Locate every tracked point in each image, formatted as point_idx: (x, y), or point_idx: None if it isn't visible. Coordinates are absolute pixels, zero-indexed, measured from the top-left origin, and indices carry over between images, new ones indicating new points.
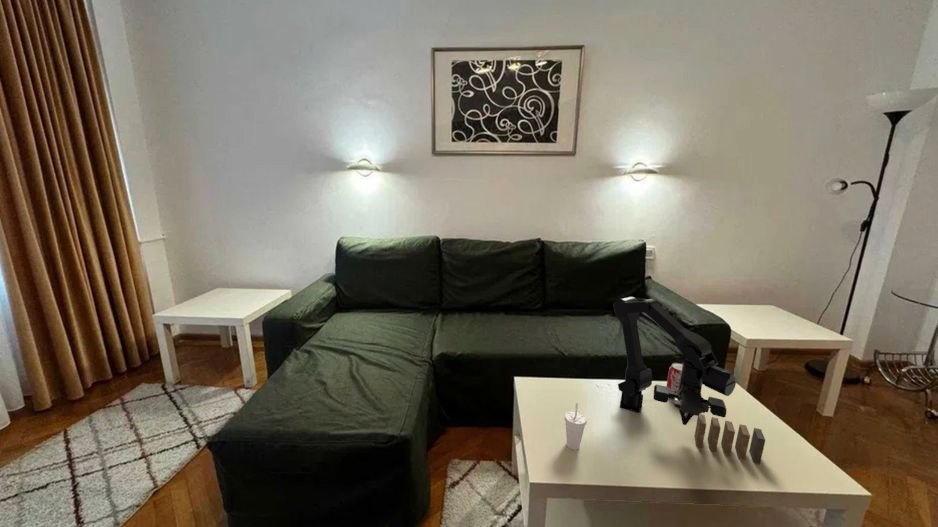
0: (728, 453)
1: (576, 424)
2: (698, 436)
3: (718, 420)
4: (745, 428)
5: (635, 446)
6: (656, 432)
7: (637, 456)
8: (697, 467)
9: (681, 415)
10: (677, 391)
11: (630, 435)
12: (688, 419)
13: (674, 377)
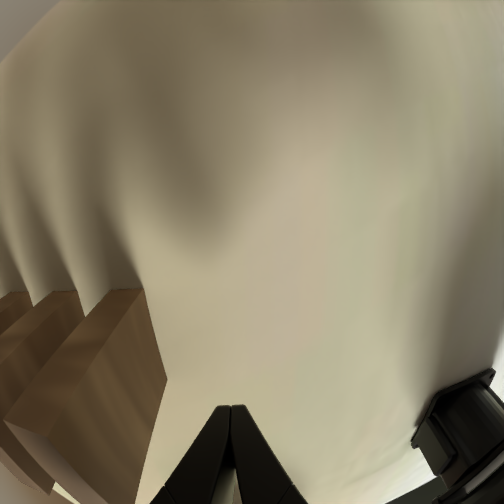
0: (10, 295)
1: None
2: (109, 329)
3: (6, 467)
4: None
5: (472, 86)
6: (390, 289)
7: (446, 16)
8: (132, 53)
9: (286, 489)
10: None
11: (497, 174)
12: (192, 465)
13: None
